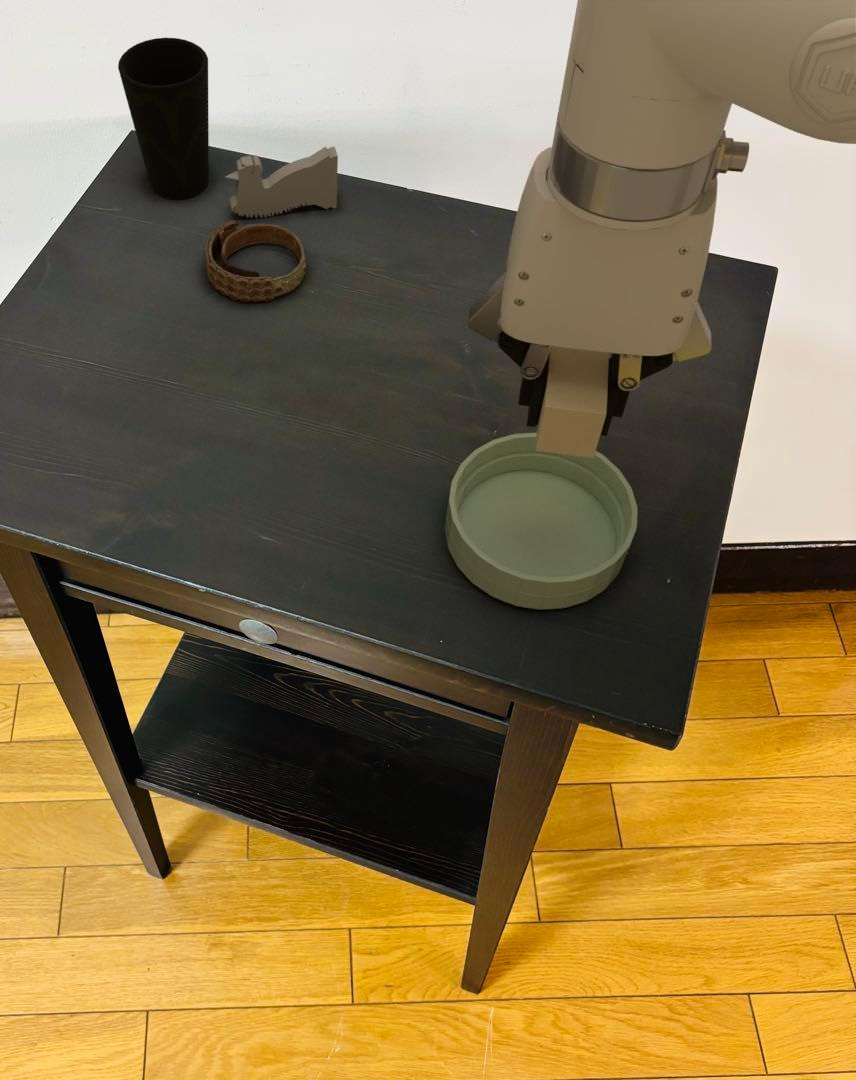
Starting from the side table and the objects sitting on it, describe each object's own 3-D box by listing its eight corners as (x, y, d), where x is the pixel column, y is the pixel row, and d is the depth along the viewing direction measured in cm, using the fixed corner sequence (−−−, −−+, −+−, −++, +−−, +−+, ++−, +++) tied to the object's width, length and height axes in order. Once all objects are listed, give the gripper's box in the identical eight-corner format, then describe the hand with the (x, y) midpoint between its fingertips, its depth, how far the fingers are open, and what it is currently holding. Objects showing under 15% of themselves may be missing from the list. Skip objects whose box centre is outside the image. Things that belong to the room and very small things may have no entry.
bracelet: (190, 259, 94) (186, 232, 92) (276, 227, 96) (275, 200, 94) (235, 319, 90) (232, 292, 87) (324, 283, 92) (324, 256, 90)
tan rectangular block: (542, 374, 68) (552, 328, 65) (597, 380, 68) (610, 334, 64) (535, 451, 64) (544, 406, 61) (593, 458, 64) (606, 413, 61)
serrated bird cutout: (336, 209, 98) (228, 221, 97) (333, 199, 99) (226, 212, 98) (337, 154, 93) (224, 167, 92) (334, 145, 94) (222, 158, 93)
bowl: (626, 480, 79) (639, 446, 76) (621, 627, 72) (635, 595, 69) (455, 456, 81) (461, 421, 78) (433, 597, 74) (438, 565, 70)
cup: (236, 173, 101) (225, 53, 91) (188, 217, 97) (172, 97, 87) (171, 147, 103) (154, 28, 94) (122, 189, 100) (99, 69, 90)
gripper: (804, 125, 52) (703, 386, 67) (466, 97, 54) (441, 356, 69) (816, 223, 48) (705, 478, 63) (449, 188, 50) (426, 443, 65)
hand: (567, 412), depth 66 cm, fingers closed on tan rectangular block, 3 cm apart
